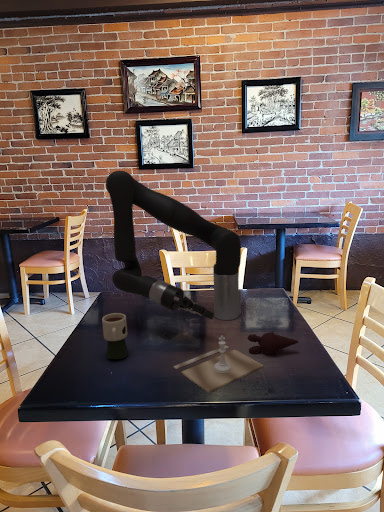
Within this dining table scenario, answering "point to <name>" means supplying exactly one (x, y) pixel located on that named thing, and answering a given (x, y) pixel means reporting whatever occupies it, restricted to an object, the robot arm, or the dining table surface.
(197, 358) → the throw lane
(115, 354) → the character mug
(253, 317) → the dining table surface
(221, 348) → the chess piece
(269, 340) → the dark brown lumpy figurine
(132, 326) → the dining table surface
